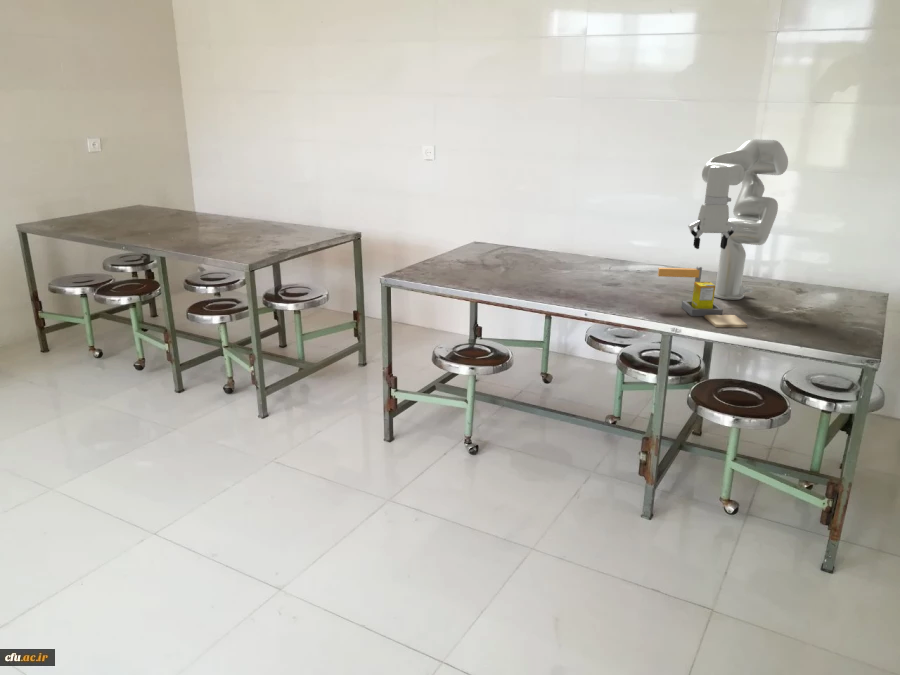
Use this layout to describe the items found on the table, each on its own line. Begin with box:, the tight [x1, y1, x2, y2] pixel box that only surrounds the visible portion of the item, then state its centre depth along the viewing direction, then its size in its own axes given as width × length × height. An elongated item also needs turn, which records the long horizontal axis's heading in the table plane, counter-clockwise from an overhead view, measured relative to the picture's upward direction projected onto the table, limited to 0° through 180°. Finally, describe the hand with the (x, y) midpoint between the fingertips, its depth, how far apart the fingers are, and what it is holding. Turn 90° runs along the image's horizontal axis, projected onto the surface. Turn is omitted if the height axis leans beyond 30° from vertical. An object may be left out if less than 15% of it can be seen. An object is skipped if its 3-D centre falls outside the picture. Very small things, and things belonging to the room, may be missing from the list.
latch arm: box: [657, 266, 703, 282], centre depth 260 cm, size 16×2×15 cm, turn 84°
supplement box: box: [691, 281, 716, 309], centre depth 253 cm, size 6×6×11 cm
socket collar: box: [681, 300, 724, 317], centre depth 255 cm, size 11×11×2 cm
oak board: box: [703, 314, 748, 328], centre depth 243 cm, size 11×11×1 cm
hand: (709, 248), depth 247 cm, fingers open, 9 cm apart
